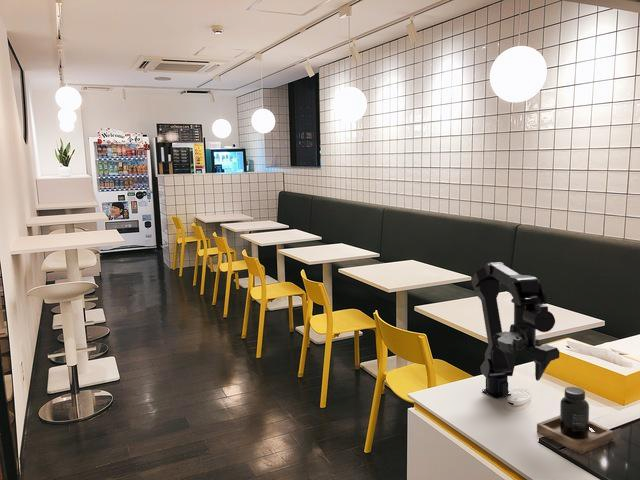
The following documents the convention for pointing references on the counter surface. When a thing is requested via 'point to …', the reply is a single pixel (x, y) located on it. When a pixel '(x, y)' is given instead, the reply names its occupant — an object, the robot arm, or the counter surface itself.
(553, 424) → the walnut tray
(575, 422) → the supplement bottle
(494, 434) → the counter surface
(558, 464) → the counter surface
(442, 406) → the counter surface
